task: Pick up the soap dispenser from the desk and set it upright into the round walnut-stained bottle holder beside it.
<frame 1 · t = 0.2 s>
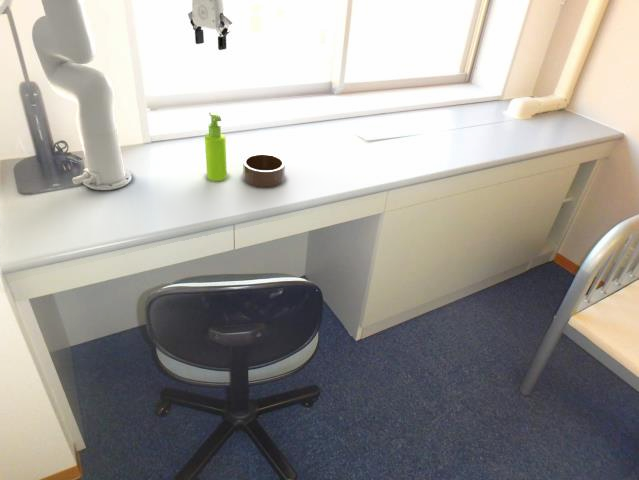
hand: (210, 46, 143), 31 cm above the table, tool pointing down, fingers open, 9 cm apart
holder: (263, 178, 139), on the table
soap dispenser: (217, 178, 137), on the table
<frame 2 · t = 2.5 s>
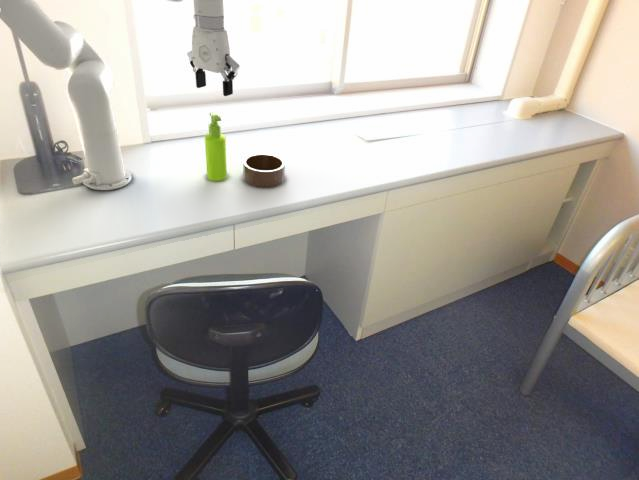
hand: (214, 90, 121), 27 cm above the table, tool pointing down, fingers open, 9 cm apart
nothing on the table moved.
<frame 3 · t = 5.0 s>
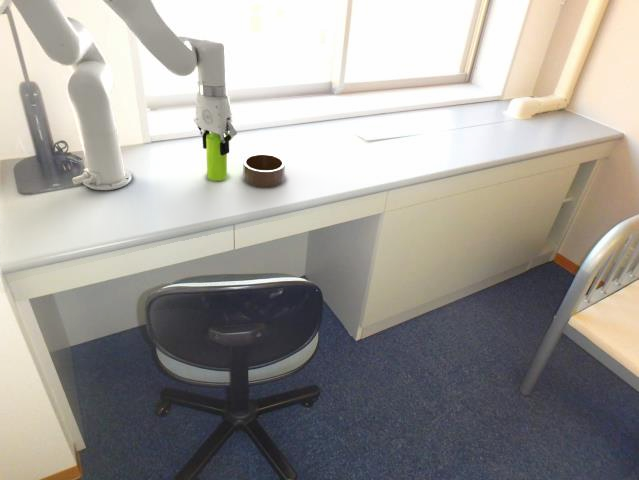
hand: (216, 150, 131), 9 cm above the table, tool pointing down, fingers closed on soap dispenser, 6 cm apart
soap dispenser: (217, 177, 136), on the table, touching gripper
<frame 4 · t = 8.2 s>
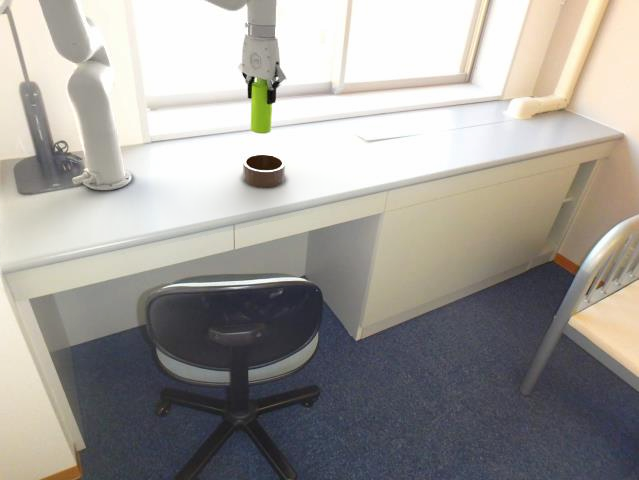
hand: (261, 99, 124), 25 cm above the table, tool pointing down, fingers closed on soap dispenser, 6 cm apart
soap dispenser: (261, 130, 130), point 16 cm above the table, touching gripper
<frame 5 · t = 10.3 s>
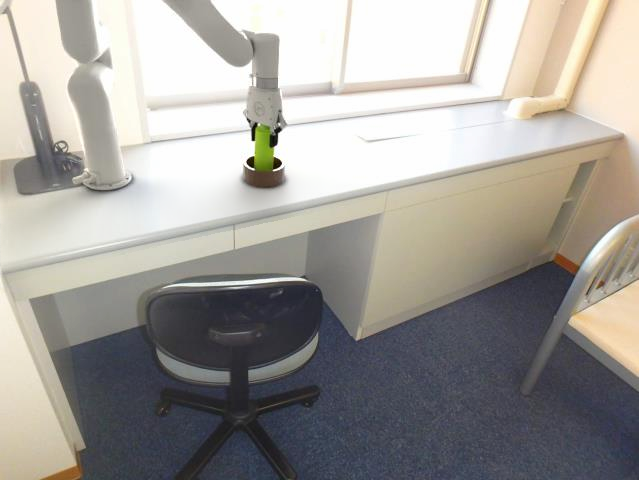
hand: (264, 142, 132), 12 cm above the table, tool pointing down, fingers closed on soap dispenser, 6 cm apart
soap dispenser: (264, 170, 137), point 3 cm above the table, touching gripper
when the fingers open (10 cm above the table, at t = 11.6 s): soap dispenser stays where it is, resting on holder.
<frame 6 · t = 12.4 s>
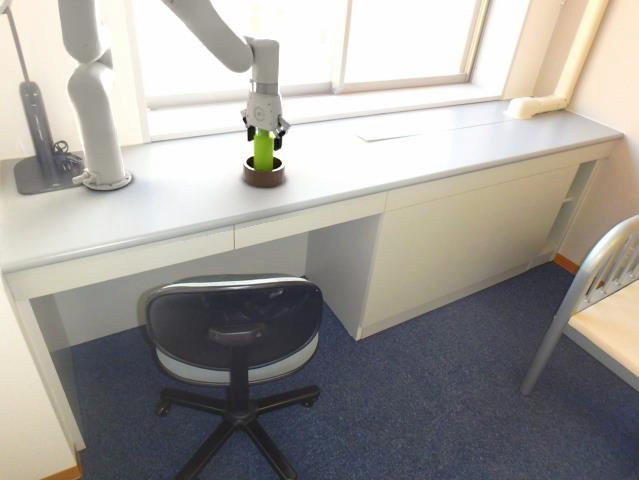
hand: (264, 144, 132), 11 cm above the table, tool pointing down, fingers open, 9 cm apart
soap dispenser: (263, 177, 138), resting on holder
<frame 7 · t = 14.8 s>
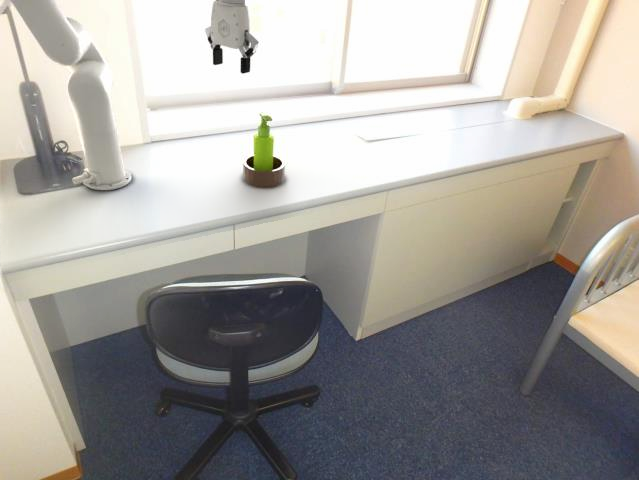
hand: (231, 68, 120), 32 cm above the table, tool pointing down, fingers open, 9 cm apart
nothing on the table moved.
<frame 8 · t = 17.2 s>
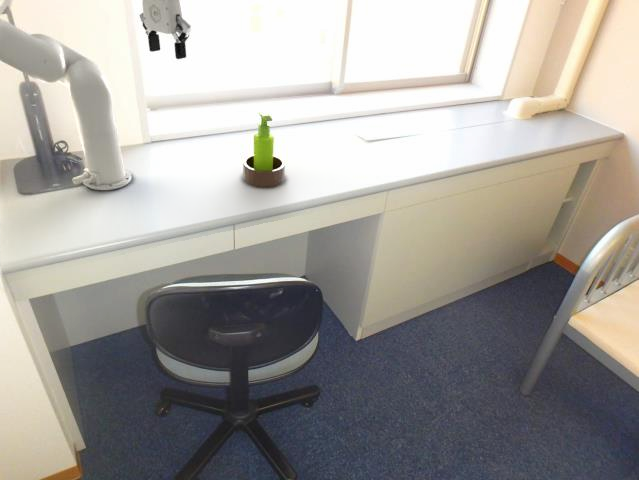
hand: (167, 54, 118), 34 cm above the table, tool pointing down, fingers open, 9 cm apart
nothing on the table moved.
at the end: soap dispenser 0.0 cm off-centre in the holder, point 0.4 cm above the holder's base; soap dispenser tilted 0°; the gripper is holding nothing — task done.
